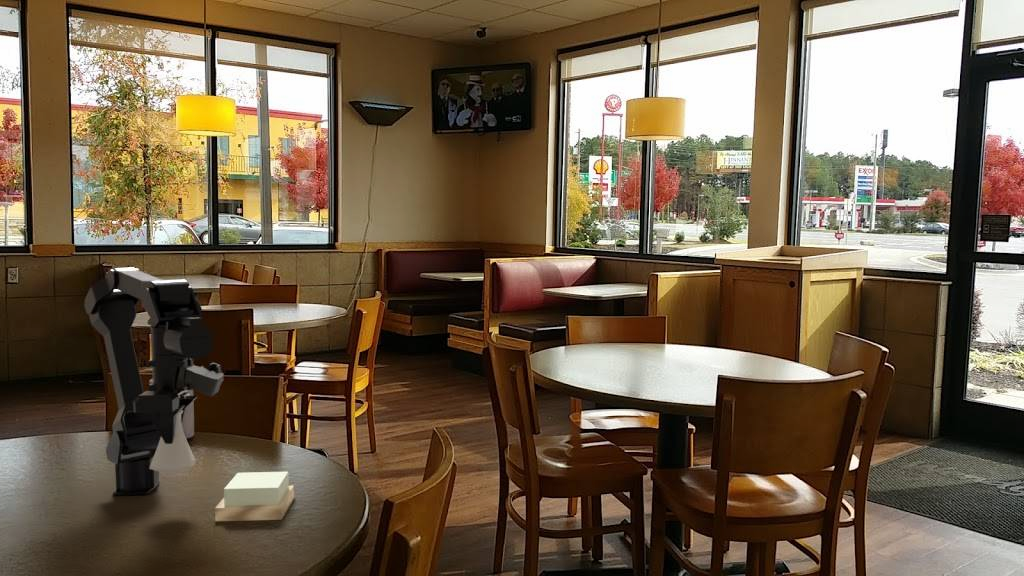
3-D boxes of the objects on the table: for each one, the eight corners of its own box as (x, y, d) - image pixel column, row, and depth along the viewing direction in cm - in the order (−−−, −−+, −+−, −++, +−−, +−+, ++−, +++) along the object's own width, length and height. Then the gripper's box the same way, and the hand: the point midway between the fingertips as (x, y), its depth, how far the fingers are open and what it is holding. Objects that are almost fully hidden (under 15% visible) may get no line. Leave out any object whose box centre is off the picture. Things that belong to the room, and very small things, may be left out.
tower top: (224, 506, 138) (223, 488, 138) (238, 488, 147) (237, 472, 147) (278, 504, 139) (278, 487, 139) (288, 487, 148) (288, 471, 148)
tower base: (215, 525, 138) (215, 508, 137) (232, 503, 149) (232, 487, 148) (281, 523, 138) (281, 506, 138) (294, 501, 149) (293, 485, 149)
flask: (178, 475, 137) (177, 417, 137) (141, 471, 139) (140, 413, 138) (204, 463, 144) (203, 407, 144) (168, 459, 146) (167, 404, 145)
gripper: (201, 361, 131) (204, 456, 133) (232, 344, 150) (234, 427, 151) (130, 362, 131) (133, 457, 132) (170, 344, 149) (172, 428, 150)
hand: (172, 441), depth 141 cm, fingers closed on flask, 3 cm apart
